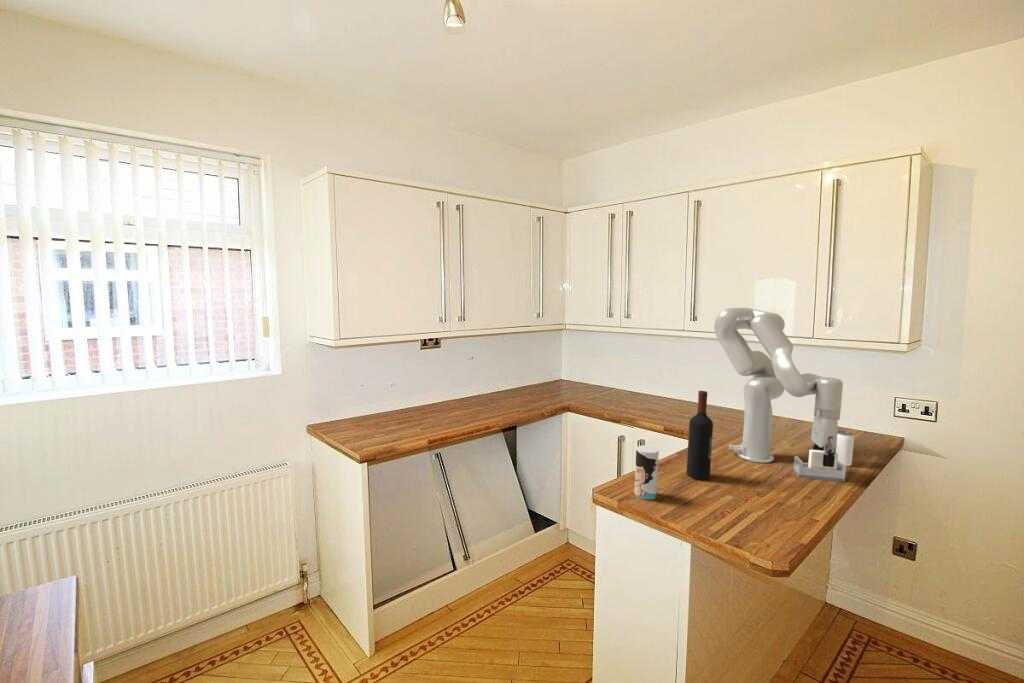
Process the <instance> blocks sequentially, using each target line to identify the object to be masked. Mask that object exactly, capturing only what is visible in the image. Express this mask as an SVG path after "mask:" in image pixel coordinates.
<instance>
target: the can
mask: <svg viewBox="0 0 1024 683" xmlns="http://www.w3.org/2000/svg"><path fill="white" fill-rule="evenodd" d="M854 444H855V437H854V434H853V433H852V432H850V431H845V430H838V432H837V445H836V446H837V448H836V453H838V460H839V461H840V462H841V463H843V464H844V465H845V466H846V468H847V467H851V466H852V464H853V453H854Z"/></svg>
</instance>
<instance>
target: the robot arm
mask: <svg viewBox="0 0 1024 683" xmlns="http://www.w3.org/2000/svg"><path fill="white" fill-rule="evenodd" d="M785 326H786V324H785V320H784V318H783V317H782V316H781V315H780V314H778V313H775V312H770V311H764V310H760V309H755V308H750V307H729V308H726V309H723V310H722V311H721V312H719V313H718V314H717V316H716V318H715V320H714V325H713V327H714V333H715V336H716V338H717V340H718V342H719V343H720V345H721V347H722V348H723V350H724V352H725V354H726V356H727V357H728V359H729V361H730V363H731V365H732V367H733V368H734V369H735V370H734V371H735V372H736V373H737V374H738V375H740V376H742V377H750V376H751V378H750V379H749V380H748V381H746V383H745V384H744V387H743V396H744V397H743V398H744V413H743V414H744V415H743V428H742V429H743V433H742V442H740V444H739V443H738V444H736V445H735V444H728V449H729V450H732V451H733V452H736V453H737V456H738V457H739V458H741V459H743V460H746V461H750V462H754V463H759V464H760V463H761V464H764V463H771V462H773V461H774V459H775V457H774V455H773V454H771V452H770V451H771V439H772V425H773V406H772V400H774V399H775V400H776V399H778V398H780V397H781V396H782V395H783V394H784V393H785V391H786V392H787V393H788V394H789V395H791V396H792V397H794V398H801V397H802V398H803V397H807V396H812V395H815V397H814V398H815V399H814V400H815V401H814V409H813V410H814V411H813V417H814V418H813V423H812V427H811V429H812V430H811V438H810V439H811V441H812V443H813V445H812V450H822V451H824V452H825V454H824V455H823V466H826V467H834V460H835V453H836V448H837V446H836V445H837V432H838V431H839V428H838V427H839V426H838V424H839V423H838V421H840V420H841V409H842V400H843V399H842V398H843V391H844V390H843V388H844V384H843V381H842V380H841V379H839V378H836V377H830V376H821V375H817V374H814V373H802V374H801V373H800V372H799V370H798V369H797V367H796V366H795V364H794V362H793V359H792V352H793V349H794V345H793V342H791V340H790V339H789V337H787V335H786V333H785V332H784V329H785ZM743 329H744V330H745V329H746V330H751V331H752V332H753V334H754V335H755V337H756V339H757V340H758V341H759V342H760V344H761V345H762V347H763V348H764V350H765V351H766V353H767V354H766V353H765V352H763V351H760V350H752V349H751V347H750V346H749V344H748V342H747V341H746V339H745V338H744V337H743V335H742V334H741V333H740V332H739V331H738V330H743Z"/></svg>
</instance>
